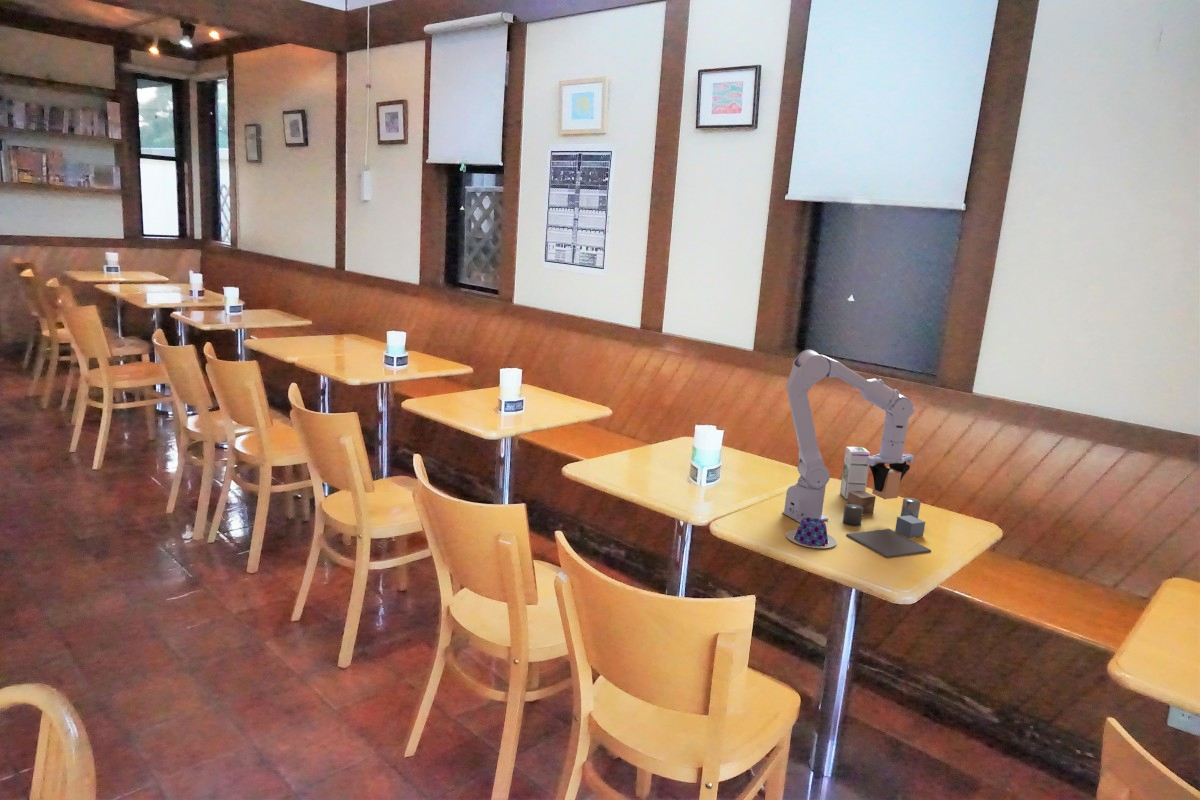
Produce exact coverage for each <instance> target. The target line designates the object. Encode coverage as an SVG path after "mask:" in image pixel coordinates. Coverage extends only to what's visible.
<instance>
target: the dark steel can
mask: <svg viewBox="0 0 1200 800" xmlns="http://www.w3.org/2000/svg"><path fill="white" fill-rule="evenodd" d="M921 502H922V501H920V500H919V499H917V498H913V497H904V498H902V505H901V512H900V516H908V515H911V516H913V517H915V518H918V519H919V515H920V509H921Z"/></svg>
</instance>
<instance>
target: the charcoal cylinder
mask: <svg viewBox="0 0 1200 800" xmlns="http://www.w3.org/2000/svg"><path fill="white" fill-rule="evenodd" d="M862 514H863V507H861V506H859V505H855V504H847V503H846V504H845V505H844V510H843V517H842V523H843V524H844V523H845V524H844V525H846V524H847V525H846V526H849V525H850V527H860V526H861V525H862V520H863V515H862Z"/></svg>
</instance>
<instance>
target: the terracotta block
mask: <svg viewBox="0 0 1200 800" xmlns="http://www.w3.org/2000/svg"><path fill="white" fill-rule="evenodd" d="M887 468H889V469H890V470H889V472H888V474H887V476H886V479H885V483H884V488H883V490H882V492H879V491H877V490H875V487H874V484H873V485H872V493H871V494H872V495H874V496H876V497H879V498H881V499H883V500H890V499H898V497H899V490H900V486H901V485H900V484H901V482H900V479H901V473H902V472H899V471H897V470H894V469H892V468H890V466H887Z"/></svg>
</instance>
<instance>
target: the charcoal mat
mask: <svg viewBox="0 0 1200 800" xmlns="http://www.w3.org/2000/svg"><path fill="white" fill-rule="evenodd" d="M845 537H848V538H849V539H851V540H853V541H855V542H857V543H858V544H861V545H862V546H864V547H866V548H867V549H869V548H870V550H871V551H874V552H876V553H877V554H879V555H880V556H882V555H883V557H884V558H886V559H890V558H897V557H903V556H904V555H905V556H911V554H912V555H918V553H919V554H924V553H925V552H926V553H931V552H932V549H930V548H928V547H926V546H924V545H922V544H921V543H918V542H916V541H914V540H912V539H911V538H908V537H906V536H904V535H902V534H900V533H898V532H896V531H894V530H893V529H891V528H884V529H878V530H877V529H876V530H869V531H868V530H867V531H859V532H852V533H851V532H850V533H846V534H845Z"/></svg>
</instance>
